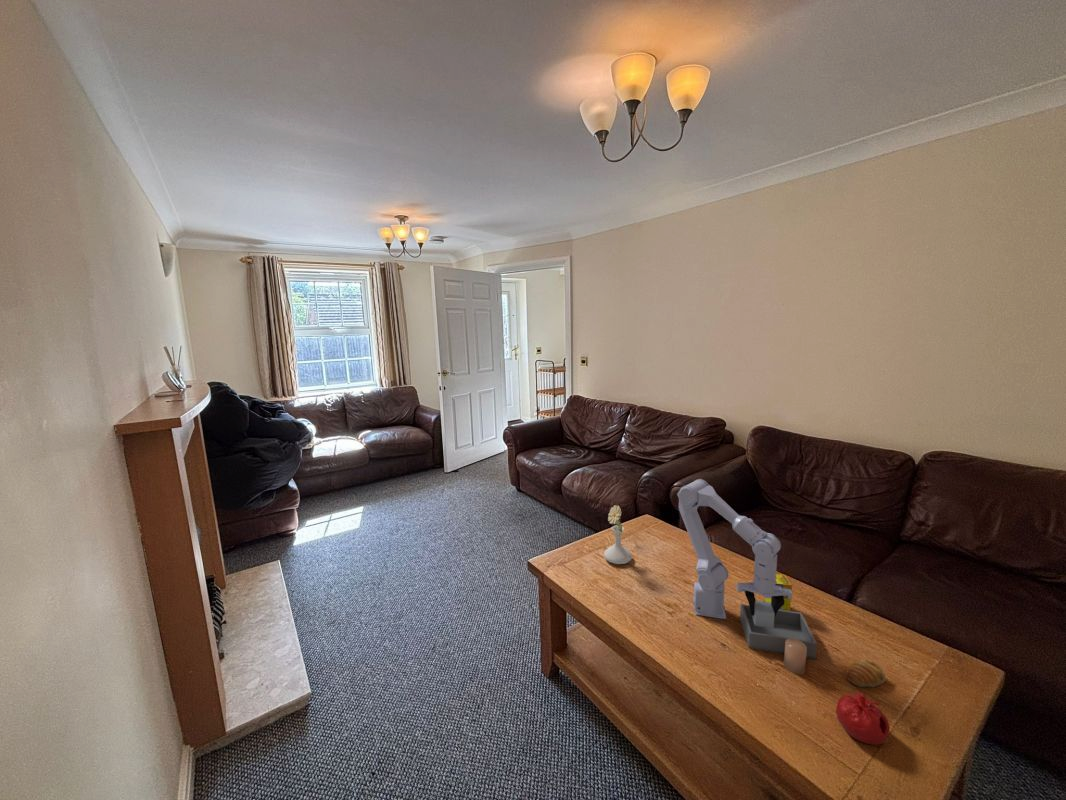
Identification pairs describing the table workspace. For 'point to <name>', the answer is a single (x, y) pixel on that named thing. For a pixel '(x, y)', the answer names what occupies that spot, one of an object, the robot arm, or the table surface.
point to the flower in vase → (617, 540)
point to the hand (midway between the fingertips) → (762, 614)
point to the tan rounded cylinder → (795, 656)
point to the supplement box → (784, 583)
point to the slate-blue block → (763, 614)
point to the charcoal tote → (778, 632)
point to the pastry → (865, 673)
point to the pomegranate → (862, 719)
